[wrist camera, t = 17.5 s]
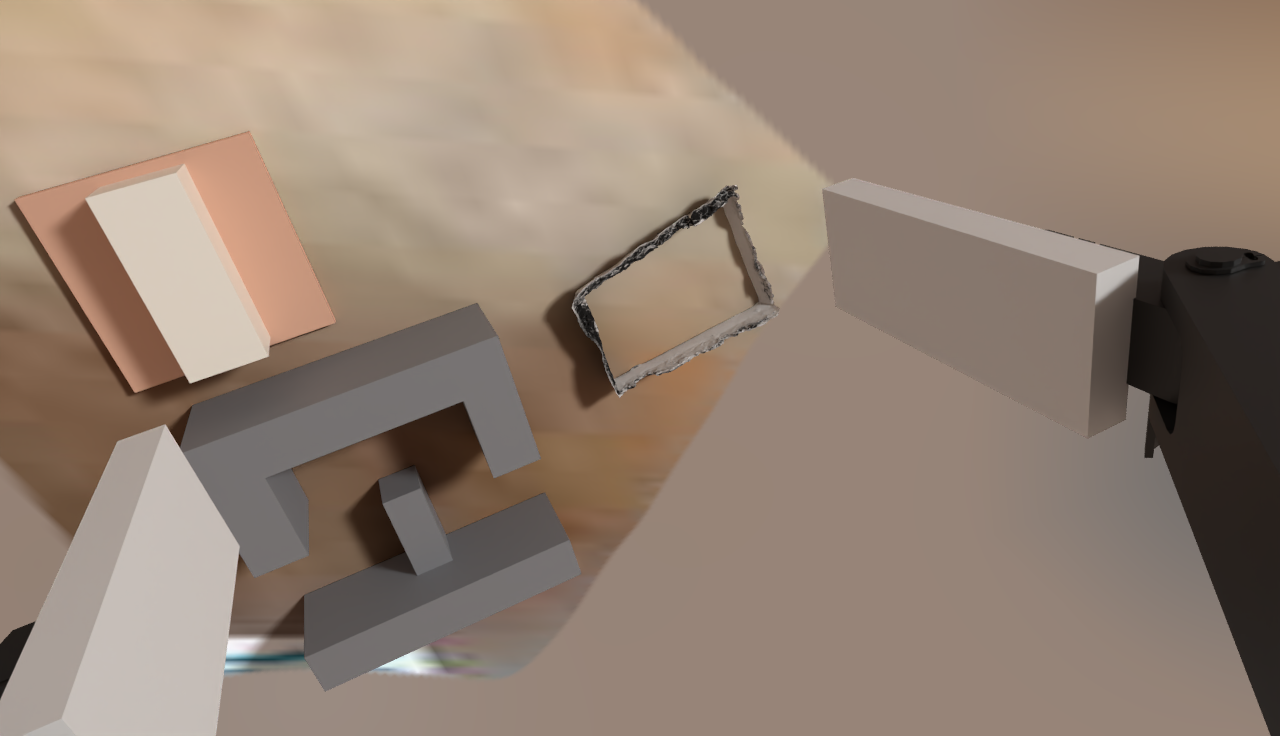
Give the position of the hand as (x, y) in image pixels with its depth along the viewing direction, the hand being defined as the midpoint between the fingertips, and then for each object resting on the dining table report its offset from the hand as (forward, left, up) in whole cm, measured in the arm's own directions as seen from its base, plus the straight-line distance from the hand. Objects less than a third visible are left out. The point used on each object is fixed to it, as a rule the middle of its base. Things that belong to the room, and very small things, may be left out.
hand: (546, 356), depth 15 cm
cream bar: (+3, -12, -32) cm, 34 cm away
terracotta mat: (+3, -12, -33) cm, 35 cm away
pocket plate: (+20, -7, -33) cm, 39 cm away
